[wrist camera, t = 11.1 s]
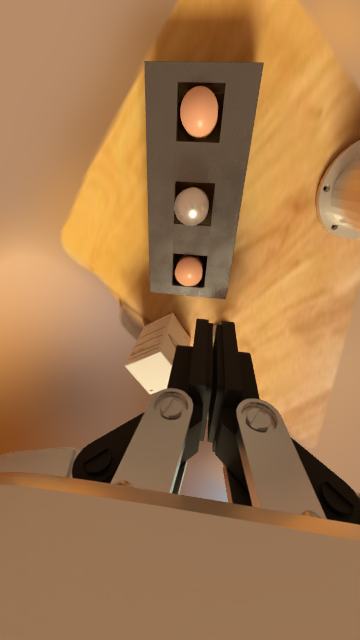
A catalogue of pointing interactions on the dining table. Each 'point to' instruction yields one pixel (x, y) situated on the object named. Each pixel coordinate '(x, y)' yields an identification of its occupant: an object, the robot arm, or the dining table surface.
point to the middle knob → (191, 206)
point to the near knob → (199, 112)
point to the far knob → (189, 270)
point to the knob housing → (197, 169)
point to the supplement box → (156, 352)
